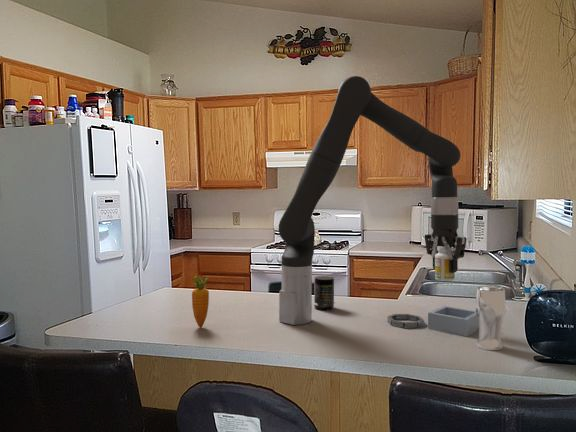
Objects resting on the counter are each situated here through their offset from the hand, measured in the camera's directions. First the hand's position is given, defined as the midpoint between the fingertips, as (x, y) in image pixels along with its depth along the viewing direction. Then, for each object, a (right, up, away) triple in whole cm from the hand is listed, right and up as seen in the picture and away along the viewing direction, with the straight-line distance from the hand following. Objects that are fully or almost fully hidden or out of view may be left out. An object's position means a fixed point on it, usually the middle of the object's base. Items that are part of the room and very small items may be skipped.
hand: (444, 270), depth 136 cm
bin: (+3, -17, 0) cm, 17 cm away
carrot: (-71, -17, -1) cm, 73 cm away
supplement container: (-33, -15, +22) cm, 43 cm away
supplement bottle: (0, -3, 0) cm, 3 cm away
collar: (-10, -16, +5) cm, 20 cm away
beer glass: (+6, -18, -16) cm, 25 cm away
